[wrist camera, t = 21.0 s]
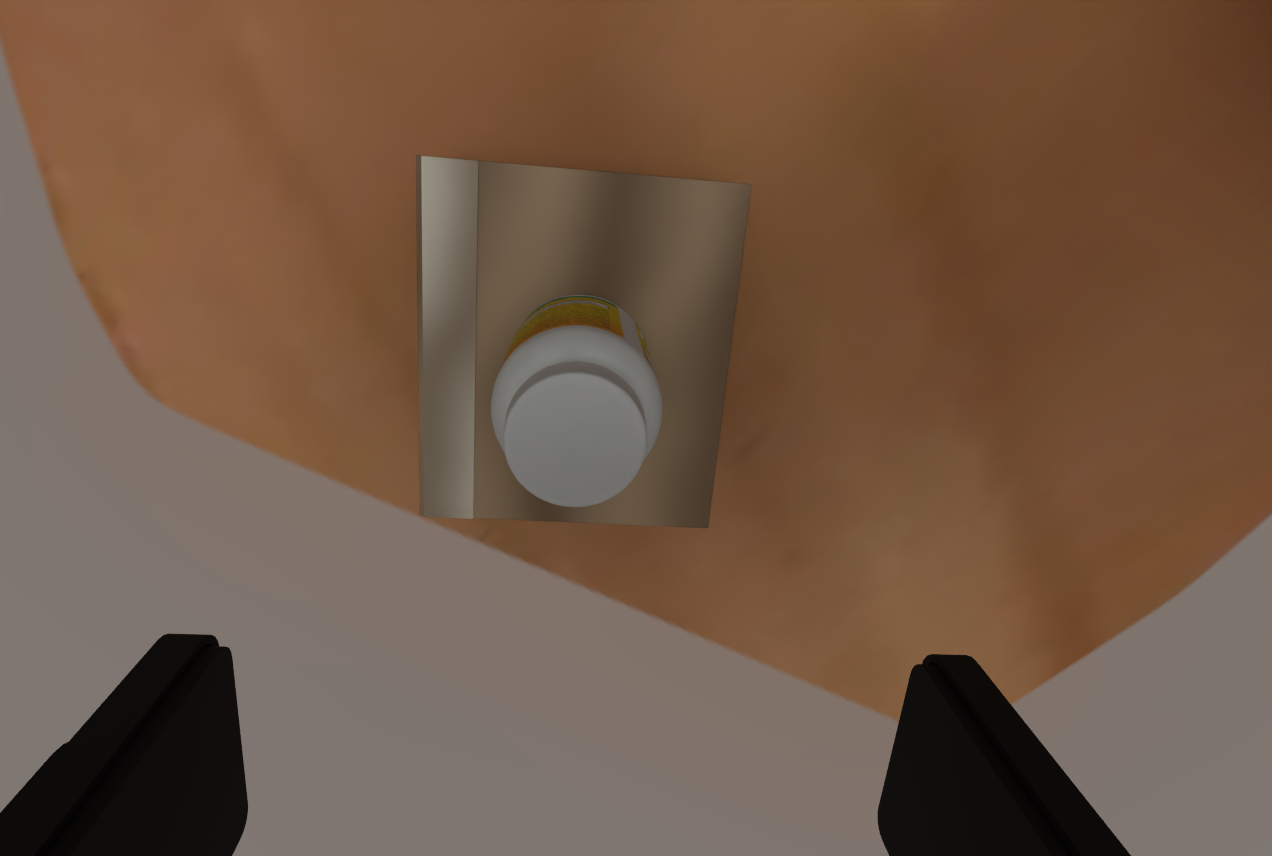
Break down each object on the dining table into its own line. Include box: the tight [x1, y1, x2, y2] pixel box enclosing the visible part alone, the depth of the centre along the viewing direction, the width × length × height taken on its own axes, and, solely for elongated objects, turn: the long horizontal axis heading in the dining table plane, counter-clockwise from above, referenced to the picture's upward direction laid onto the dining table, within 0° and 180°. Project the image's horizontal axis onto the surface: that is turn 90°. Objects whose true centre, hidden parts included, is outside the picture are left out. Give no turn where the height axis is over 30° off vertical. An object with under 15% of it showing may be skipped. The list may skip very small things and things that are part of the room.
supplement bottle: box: [491, 295, 663, 507], centre depth 25 cm, size 5×5×10 cm
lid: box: [416, 155, 751, 528], centre depth 30 cm, size 12×14×1 cm
